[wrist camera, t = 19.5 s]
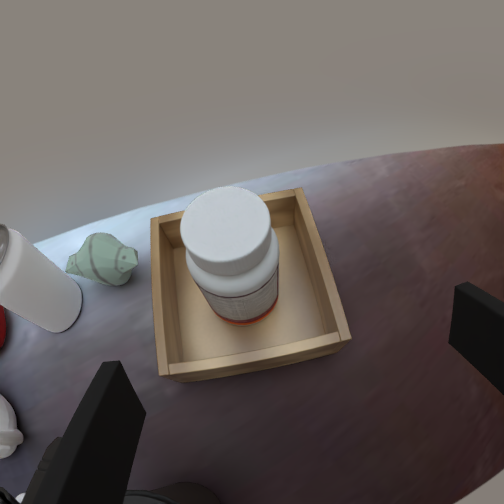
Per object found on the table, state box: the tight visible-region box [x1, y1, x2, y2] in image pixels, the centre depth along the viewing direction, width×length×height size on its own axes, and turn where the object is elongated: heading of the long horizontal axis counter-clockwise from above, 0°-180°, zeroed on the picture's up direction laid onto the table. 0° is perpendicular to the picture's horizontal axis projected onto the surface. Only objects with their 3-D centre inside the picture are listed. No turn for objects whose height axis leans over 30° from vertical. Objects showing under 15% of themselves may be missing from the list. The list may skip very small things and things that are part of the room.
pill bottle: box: [180, 186, 280, 326], centre depth 22 cm, size 6×6×11 cm
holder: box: [151, 188, 352, 383], centre depth 25 cm, size 14×14×5 cm
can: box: [0, 224, 82, 333], centre depth 23 cm, size 6×6×12 cm
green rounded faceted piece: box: [65, 233, 138, 286], centre depth 27 cm, size 8×4×7 cm, turn 94°
